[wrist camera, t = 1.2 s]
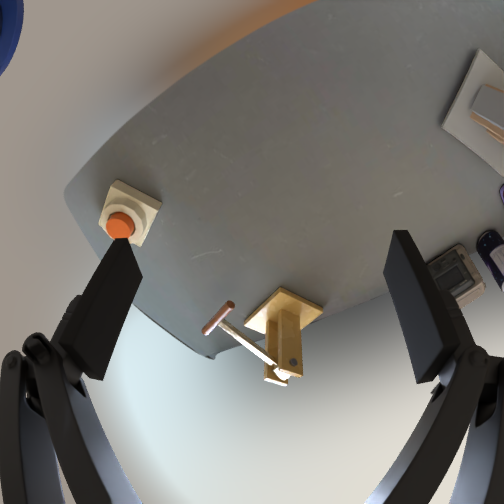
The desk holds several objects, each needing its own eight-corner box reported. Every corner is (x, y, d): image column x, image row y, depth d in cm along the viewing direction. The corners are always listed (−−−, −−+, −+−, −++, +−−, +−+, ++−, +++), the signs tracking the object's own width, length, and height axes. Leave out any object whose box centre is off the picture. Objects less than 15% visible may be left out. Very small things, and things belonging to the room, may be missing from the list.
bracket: (244, 320, 59) (238, 382, 49) (280, 286, 53) (280, 354, 42) (284, 337, 63) (285, 396, 52) (322, 307, 56) (330, 371, 45)
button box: (103, 217, 45) (93, 231, 42) (116, 178, 41) (105, 191, 38) (144, 238, 48) (136, 254, 45) (162, 202, 43) (154, 217, 40)
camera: (417, 286, 51) (434, 327, 44) (408, 269, 49) (425, 312, 41) (466, 256, 46) (488, 295, 39) (459, 237, 44) (484, 276, 36)
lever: (204, 324, 52) (198, 333, 50) (230, 296, 47) (223, 305, 45) (275, 377, 52) (271, 387, 50) (308, 357, 47) (305, 367, 45)
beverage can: (470, 248, 45) (498, 295, 36) (486, 224, 41) (519, 269, 32) (486, 255, 46) (513, 299, 36) (501, 233, 42) (532, 276, 33)
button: (107, 226, 42) (103, 233, 41) (114, 207, 40) (109, 213, 38) (130, 238, 43) (126, 245, 42) (138, 219, 41) (133, 226, 40)
